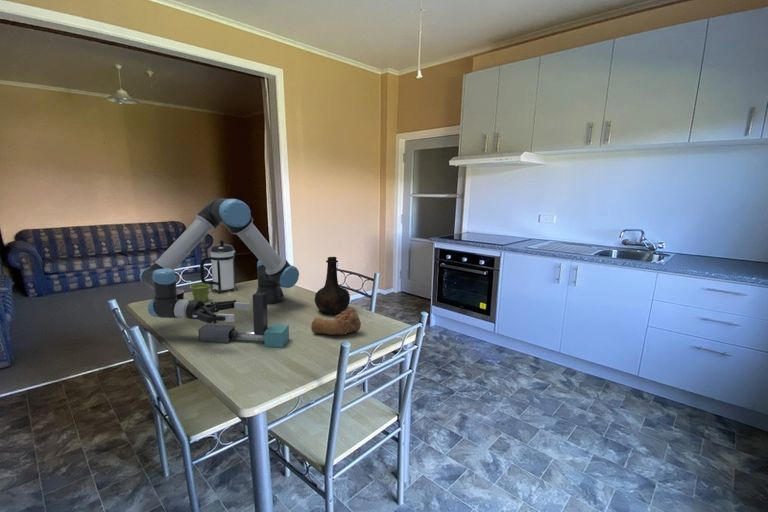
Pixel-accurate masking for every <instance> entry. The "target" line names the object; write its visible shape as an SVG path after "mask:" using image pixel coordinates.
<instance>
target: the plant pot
mask: <svg viewBox="0 0 768 512" xmlns="http://www.w3.org/2000/svg"><path fill="white" fill-rule="evenodd" d="M210 287H211V285H209V284H204V283H197V284H196V283H195V284H191V285H190V286H189V288H190V291H191V292H192V296H193V300H201V301H202V302H203V303H204V304H205V302H206V303H207V302H208V299H209V290H210Z"/></svg>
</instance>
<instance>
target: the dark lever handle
mask: <svg viewBox="0 0 768 512" xmlns="http://www.w3.org/2000/svg"><path fill="white" fill-rule="evenodd" d="M252 311H253V312H252V313H253V316H252V317H253V331H250V330H249V331H248V330H236V329H235V330H236V331H235V330H231V331H229V335H230V338H234V339H244V340H257V341H258V340H260V341H261V340H262V341H264V332H265V331H266V330H267V329H268V328H269V324H268V323H269V322H268V319H269V318H268V304H267V293H264V292H257V291H256V292H255V293H253V294H252Z"/></svg>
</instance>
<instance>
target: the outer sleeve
mask: <svg viewBox="0 0 768 512" xmlns="http://www.w3.org/2000/svg"><path fill="white" fill-rule="evenodd" d="M231 330H235V331H237V330H236V325H233V324H219V323H216V324H213V323H211V324H209V323H206V324H204V325H203V326H201V327H200V328H198V331H197V333H198V342H204V343H221V344H229V343H231V342H232V341H233V340H234V339H235V338H230V335H229V331H231Z"/></svg>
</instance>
